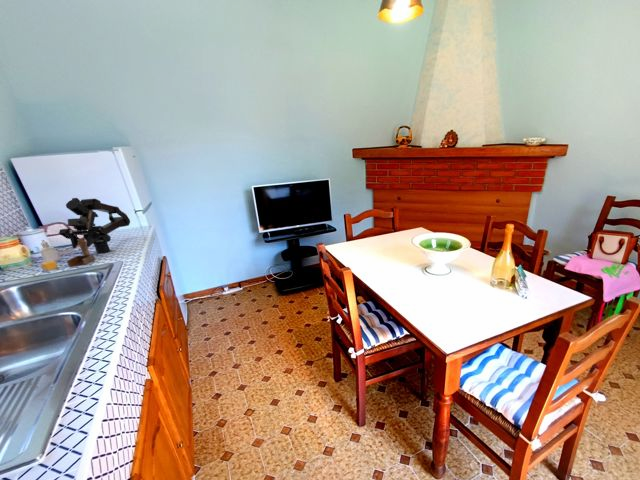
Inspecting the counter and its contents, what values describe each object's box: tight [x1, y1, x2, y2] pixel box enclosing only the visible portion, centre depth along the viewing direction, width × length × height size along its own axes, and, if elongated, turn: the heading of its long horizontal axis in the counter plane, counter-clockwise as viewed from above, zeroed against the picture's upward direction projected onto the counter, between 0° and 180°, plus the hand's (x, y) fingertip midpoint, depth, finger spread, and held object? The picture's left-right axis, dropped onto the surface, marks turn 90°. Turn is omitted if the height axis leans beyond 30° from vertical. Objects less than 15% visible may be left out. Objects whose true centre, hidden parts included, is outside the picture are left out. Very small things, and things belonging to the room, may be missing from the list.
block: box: [40, 261, 59, 272], centre depth 141 cm, size 4×4×4 cm
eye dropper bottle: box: [38, 239, 61, 263], centre depth 150 cm, size 4×6×12 cm
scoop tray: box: [66, 237, 96, 268], centre depth 146 cm, size 10×7×12 cm
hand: (80, 247), depth 147 cm, fingers open, 6 cm apart
